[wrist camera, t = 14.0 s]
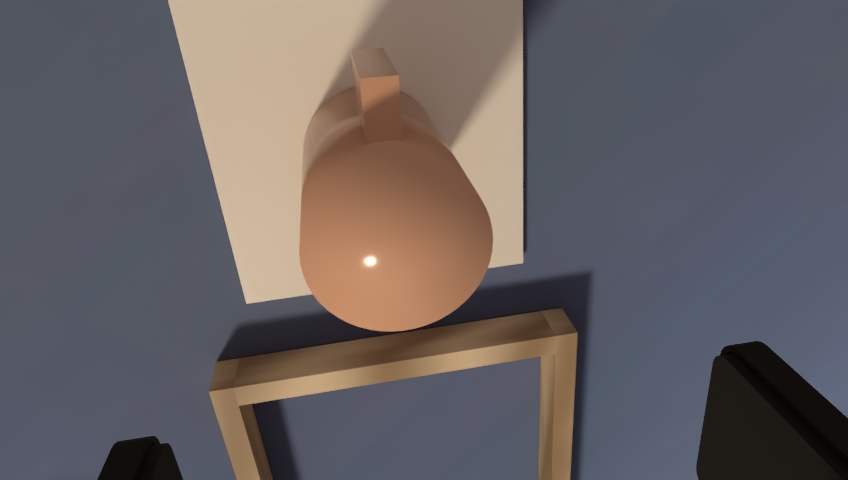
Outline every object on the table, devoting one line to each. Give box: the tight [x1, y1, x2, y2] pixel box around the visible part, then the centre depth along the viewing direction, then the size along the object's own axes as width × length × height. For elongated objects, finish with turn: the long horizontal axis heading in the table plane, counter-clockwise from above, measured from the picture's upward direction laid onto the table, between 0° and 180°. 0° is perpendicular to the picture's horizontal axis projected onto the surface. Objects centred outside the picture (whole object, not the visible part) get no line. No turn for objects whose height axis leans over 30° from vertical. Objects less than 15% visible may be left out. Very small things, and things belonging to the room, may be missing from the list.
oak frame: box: [209, 308, 578, 480], centre depth 30 cm, size 16×16×2 cm
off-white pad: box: [168, 0, 523, 304], centre depth 23 cm, size 12×12×1 cm
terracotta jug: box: [299, 48, 493, 332], centre depth 19 cm, size 7×5×8 cm
